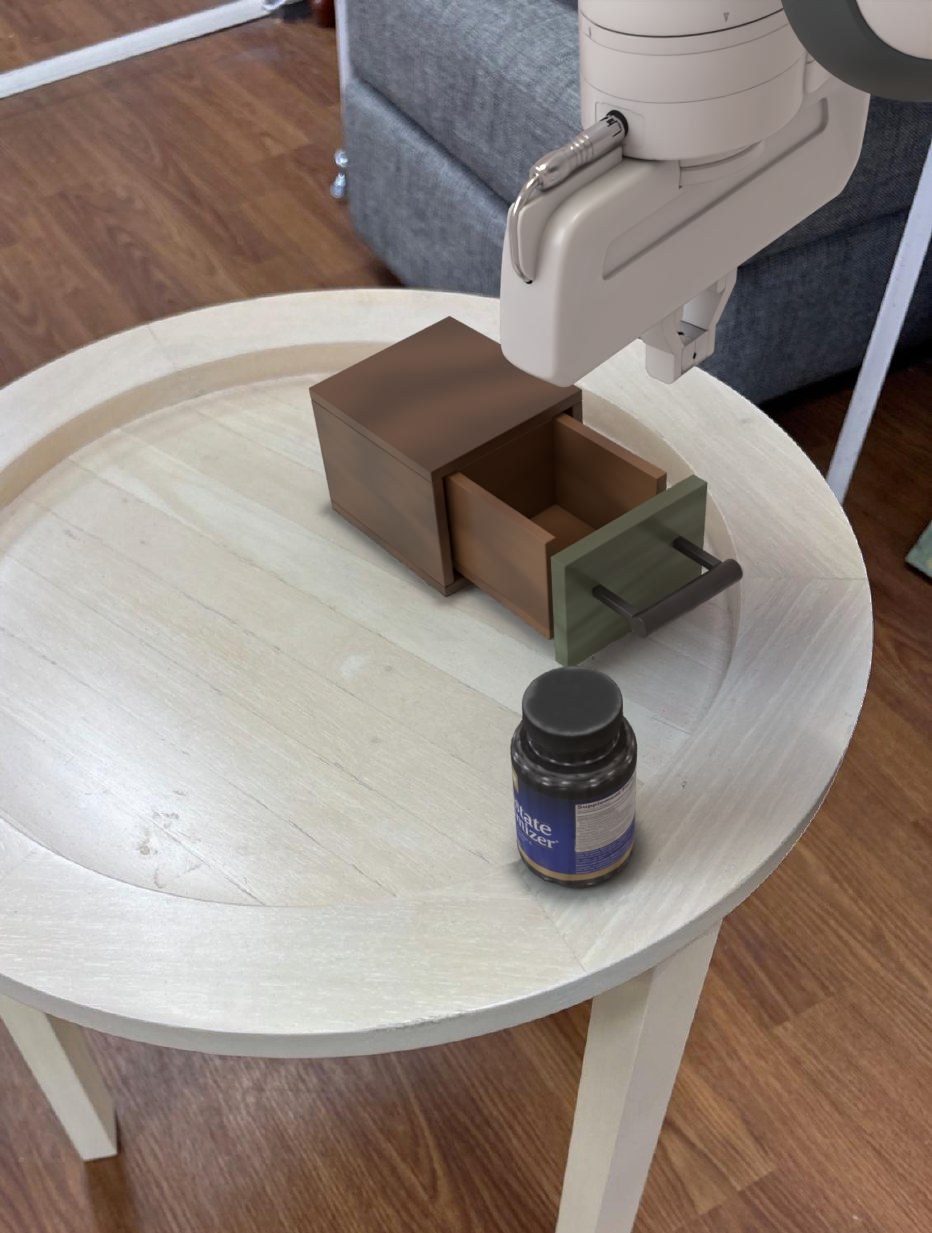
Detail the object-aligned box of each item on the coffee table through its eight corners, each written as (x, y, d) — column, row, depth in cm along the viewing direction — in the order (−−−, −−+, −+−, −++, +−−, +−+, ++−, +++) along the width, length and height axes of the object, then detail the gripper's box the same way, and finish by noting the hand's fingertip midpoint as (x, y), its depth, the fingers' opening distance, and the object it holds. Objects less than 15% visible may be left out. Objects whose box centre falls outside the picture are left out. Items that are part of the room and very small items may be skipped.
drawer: (758, 626, 76) (771, 518, 70) (622, 712, 74) (623, 607, 68) (566, 502, 87) (563, 399, 81) (441, 574, 84) (428, 472, 78)
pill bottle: (497, 831, 71) (482, 685, 63) (595, 786, 72) (593, 636, 63) (555, 910, 67) (547, 765, 59) (658, 861, 68) (664, 712, 59)
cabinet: (585, 517, 87) (582, 389, 80) (446, 597, 84) (430, 472, 77) (461, 437, 95) (449, 315, 88) (331, 508, 93) (308, 387, 85)
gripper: (569, 204, 48) (579, 504, 58) (916, -24, 53) (867, 286, 64) (450, 162, 51) (479, 451, 62) (787, -48, 57) (761, 250, 68)
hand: (679, 366), depth 63 cm, fingers closed
